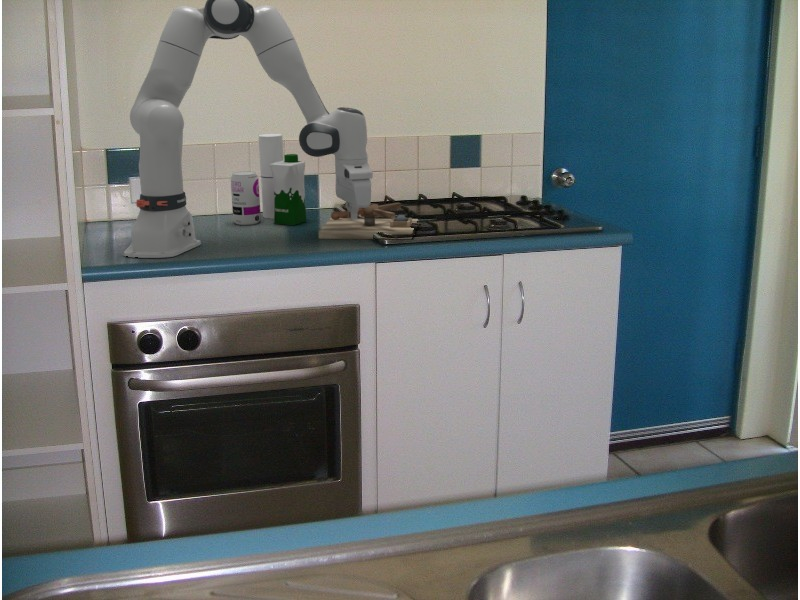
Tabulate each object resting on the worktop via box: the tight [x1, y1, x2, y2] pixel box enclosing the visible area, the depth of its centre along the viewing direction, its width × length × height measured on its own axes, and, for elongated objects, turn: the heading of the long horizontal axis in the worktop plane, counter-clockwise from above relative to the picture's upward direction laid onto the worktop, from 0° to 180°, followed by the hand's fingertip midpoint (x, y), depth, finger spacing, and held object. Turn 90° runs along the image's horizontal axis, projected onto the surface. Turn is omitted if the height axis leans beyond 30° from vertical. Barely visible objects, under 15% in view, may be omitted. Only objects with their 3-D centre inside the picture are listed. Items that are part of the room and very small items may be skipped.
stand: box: [318, 217, 419, 240], centre depth 261 cm, size 18×26×4 cm
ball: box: [395, 214, 407, 221], centre depth 260 cm, size 3×3×3 cm
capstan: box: [330, 202, 402, 220], centre depth 259 cm, size 22×24×3 cm
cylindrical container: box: [258, 133, 284, 220], centre depth 282 cm, size 7×7×25 cm
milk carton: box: [270, 153, 307, 226], centre depth 273 cm, size 9×9×20 cm
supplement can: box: [230, 170, 262, 226], centre depth 274 cm, size 8×8×15 cm
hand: (352, 218), depth 253 cm, fingers closed
